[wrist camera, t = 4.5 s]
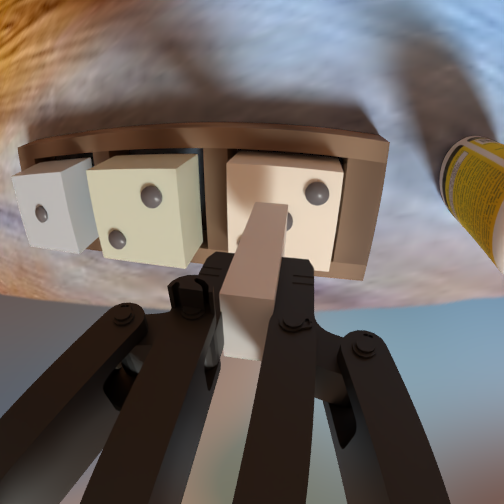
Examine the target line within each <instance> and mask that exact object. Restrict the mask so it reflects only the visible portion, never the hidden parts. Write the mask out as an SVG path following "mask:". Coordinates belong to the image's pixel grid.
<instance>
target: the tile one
mask: <svg viewBox="0 0 504 504" xmlns="http://www.w3.org/2000/svg"><path fill="white" fill-rule="evenodd" d="M90 168H92V163H91V157H89V158H77V159H66V160H57V161H48V162H40V163H38V164H35V165H33V166H31V167H29V168H27V169H25V170H23V171H21V172H19V173H17V174H15V175H13V176H12V181H13V186H14V190H15V195H16V199H17V203H18V207H19V210H20V214H21V218H22V221H23V225H24V228H25V231H26V235H27V238H28V241H29V244H30V246H32V247H38V248H44V249H50V250H57V251H63V252H70V253H76V254H80V253H82V252H83V251H84V250H85V249H86V248H87V247H88V246H89V245H90V244H91V243H92V242H94V241H95V240H96V239H97V238H98V237H99V235H98V231H97V226H96V222H95V217H94V212H93V207H92V202H91V197H90V192H89V186H88V180H87V174H86V170H88V169H90Z"/></svg>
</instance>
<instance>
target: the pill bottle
mask: <svg viewBox="0 0 504 504" xmlns="http://www.w3.org/2000/svg"><path fill="white" fill-rule="evenodd" d="M439 183H440V191H441V196H442V199H443V201H444V203H445V205H446V207H447V208H448V210H449V211H450V212H451V214H452V215H453V216H454V217H455V218H456V219H457V220H458V222H459V223H460V224H461V225H462V226H463V227H464V228H465V229H466V230H467V231H468V233H469V234H470V235H471V236H472V237H473V238H474V240H475V241H476V242H477V243H478V244H479V246H480V247H481V248H482V249H483V250H484V252H485V253H486V254H487V255H488V257H489V258H490V259H491V260H492V262H493V263H494V264H495V265H496V267H497V268H498V269H499V271H500V272H501V273H502V274H503V275H504V145H503V144H501V143H498V142H496V141H493V140H491V139H488V138H485V137H481V136H470V137H466V138H464V139H462V140H460V141H458V142H457V143H456V144H455V145H453V146H452V148H451V149H450V150H449V151H448V153H447V154H446V156H445V158H444V160H443V163H442V166H441V170H440V178H439Z"/></svg>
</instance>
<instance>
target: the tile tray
mask: <svg viewBox="0 0 504 504" xmlns="http://www.w3.org/2000/svg"><path fill="white" fill-rule="evenodd" d="M389 143H390V142H388V141H387V140H386V139H384V138H383V137H381V136H380V135H375V134H369V133H362V132H355V131H348V130H340V129H332V128H322V127H312V126H301V125H288V124H271V123H246V122H192V123H167V124H151V125H138V126H127V127H117V128H108V129H100V130H92V131H85V132H78V133H72V134H66V135H60V136H55V137H49V138H44V139H39V140H36V141H33V142H31V143H28V144H26V145H23V146H21V147H18V154H19V160H20V165H21V170H22V171H23V170H25V169H27V168H29V167H31V166H33V165H35V164H38V163H40V162H48V161H56V158H55V156H60V155H69V154H79V153H89V152H93V159H94V166H96V165H98V164H100V163H102V162H104V161H106V160H108V159H110V158H112V157H114V156H119V155H129V150H132V149H157V148H203V157H204V182H205V202H206V221H207V231H206V230H202V235H203V242H202V244H201V246H200V247H199V249H198V250H197V252H196V253H195V255H194V257H193V258H192V260H191V261H190V262H192V263H201V264H204V263H205V261H206V259H207V258H208V257H209V256H210V255H212V254H213V253H214V252H216V251H217V252H227V253H228V220H227V170H226V163H227V162H228V161H229V160H230V159H231V158H232V157H233V156H234V155H236V154H237V149H253V150H271V151H285V152H298V153H309V154H319V155H328V156H337V157H342V166H341V167H342V170H343V172H344V174H343V182H342V190H341V198H340V205H339V212H338V219H337V226H336V232H335V239H334V245H333V251H332V257H331V262H330V268H329V272H325V271H315V270H314V276H319V277H329V278H339V279H349V280H360V281H363V278H364V274H365V270H366V266H367V262H368V258H369V253H370V249H371V245H372V240H373V236H374V231H375V226H376V222H377V217H378V212H379V206H380V201H381V195H382V190H383V184H384V178H385V172H386V165H387V158H388V151H389ZM86 249H90V250H97V251H102V247H101V243H100V239H99V237H98V238H97V239H96V240H95V241H94V242H92V243H91V244H90V245H89V246H88V247H87V248H86Z"/></svg>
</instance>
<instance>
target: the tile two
mask: <svg viewBox="0 0 504 504" xmlns="http://www.w3.org/2000/svg"><path fill="white" fill-rule="evenodd" d="M86 174H87V180H88V186H89V192H90V197H91V202H92V207H93V212H94V217H95V222H96V226H97V231H98V235H99V239H100V243H101V247H102V251H103V255H104V258H110V259H117V260H124V261H131V262H138V263H146V264H153V265H160V266H168V267H176V268H183V269H186V268H187V266H188V265H189V263H190V261H191V260H192V258H193V257H194V255H195V253H196V252H197V250H198V249H199V247H200V246H201V244H202V242H203V235H202V220H201V204H200V187H199V166H198V154H143V155H119V156H114V157H112V158H110V159H108V160H106V161H104V162H102V163H100V164H98V165H96V166H94V167H92V168H90V169H88V170H86Z"/></svg>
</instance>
